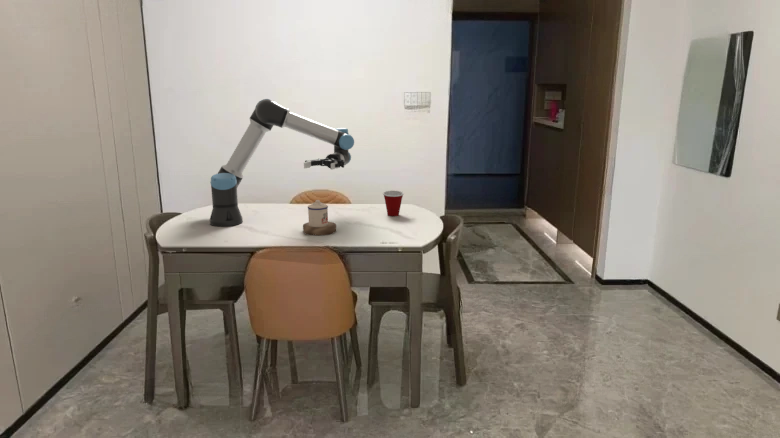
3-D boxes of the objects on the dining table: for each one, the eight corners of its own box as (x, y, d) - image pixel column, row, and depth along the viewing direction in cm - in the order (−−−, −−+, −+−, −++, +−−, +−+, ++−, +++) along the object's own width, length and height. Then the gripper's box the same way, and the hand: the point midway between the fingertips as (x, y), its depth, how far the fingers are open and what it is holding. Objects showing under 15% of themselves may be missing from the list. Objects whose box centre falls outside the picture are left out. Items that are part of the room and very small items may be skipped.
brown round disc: (297, 234, 241) (297, 227, 241) (311, 226, 256) (311, 220, 255) (328, 236, 238) (328, 229, 237) (341, 228, 252) (340, 222, 251)
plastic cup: (382, 217, 273) (382, 194, 271) (382, 213, 284) (382, 190, 281) (404, 217, 274) (404, 194, 271) (403, 212, 284) (403, 190, 281)
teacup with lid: (325, 228, 239) (324, 202, 237) (305, 227, 241) (304, 201, 238) (332, 222, 251) (331, 197, 248) (313, 221, 252) (312, 196, 250)
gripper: (357, 169, 271) (343, 175, 251) (312, 167, 278) (293, 172, 258) (357, 154, 269) (342, 159, 249) (311, 152, 276) (293, 157, 256)
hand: (317, 166), depth 253 cm, fingers open, 13 cm apart
